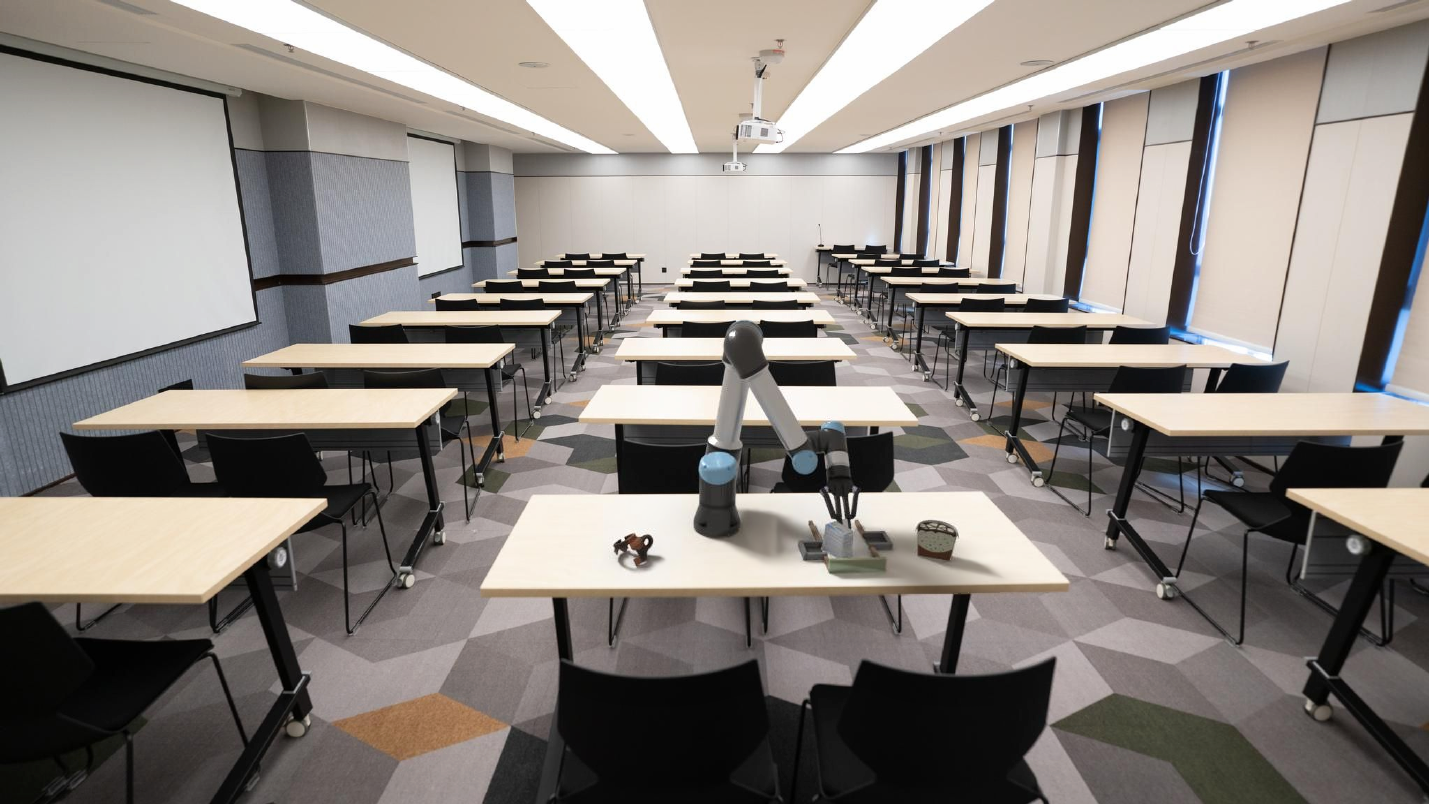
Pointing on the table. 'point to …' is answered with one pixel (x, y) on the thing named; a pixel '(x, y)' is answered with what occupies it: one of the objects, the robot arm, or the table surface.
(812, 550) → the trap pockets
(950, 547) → the food container
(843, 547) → the medicine box
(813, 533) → the walnut lane
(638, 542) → the brown looped part
